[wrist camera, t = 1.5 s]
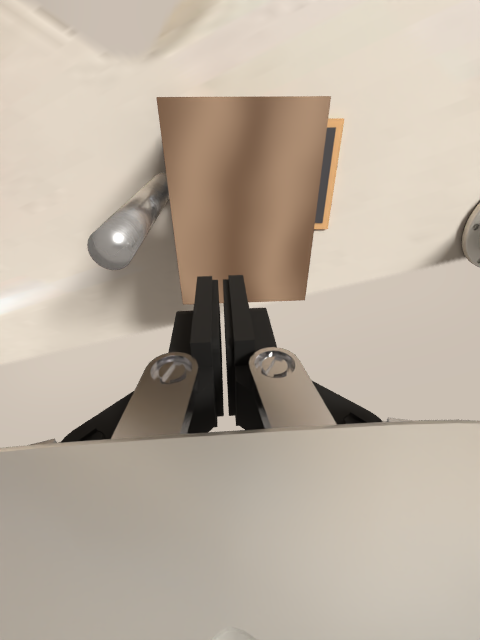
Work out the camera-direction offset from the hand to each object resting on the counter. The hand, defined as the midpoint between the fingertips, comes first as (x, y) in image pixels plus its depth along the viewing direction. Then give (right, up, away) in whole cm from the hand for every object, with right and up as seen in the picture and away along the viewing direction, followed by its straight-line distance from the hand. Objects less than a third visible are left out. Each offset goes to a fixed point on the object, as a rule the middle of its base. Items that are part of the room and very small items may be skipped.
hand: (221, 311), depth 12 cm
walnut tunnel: (0, +16, +25) cm, 30 cm away
